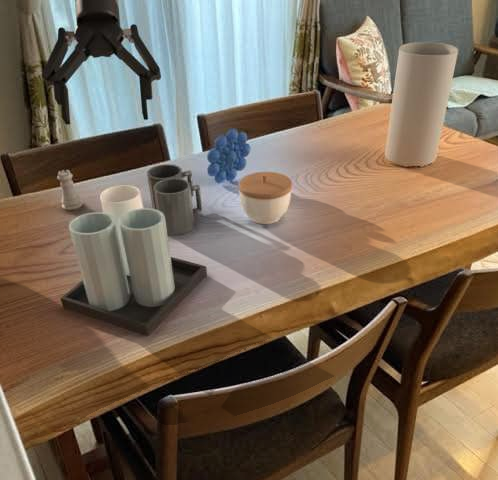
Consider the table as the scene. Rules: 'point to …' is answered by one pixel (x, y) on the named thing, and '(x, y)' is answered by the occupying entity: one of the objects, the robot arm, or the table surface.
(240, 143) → the grapes
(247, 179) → the trinket box
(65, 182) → the rook chess piece
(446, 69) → the cylinder vase
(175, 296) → the tray
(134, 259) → the tumbler
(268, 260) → the table surface
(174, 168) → the grey mug far
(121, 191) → the drinking glass
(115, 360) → the table surface
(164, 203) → the grey mug near
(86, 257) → the tumbler
